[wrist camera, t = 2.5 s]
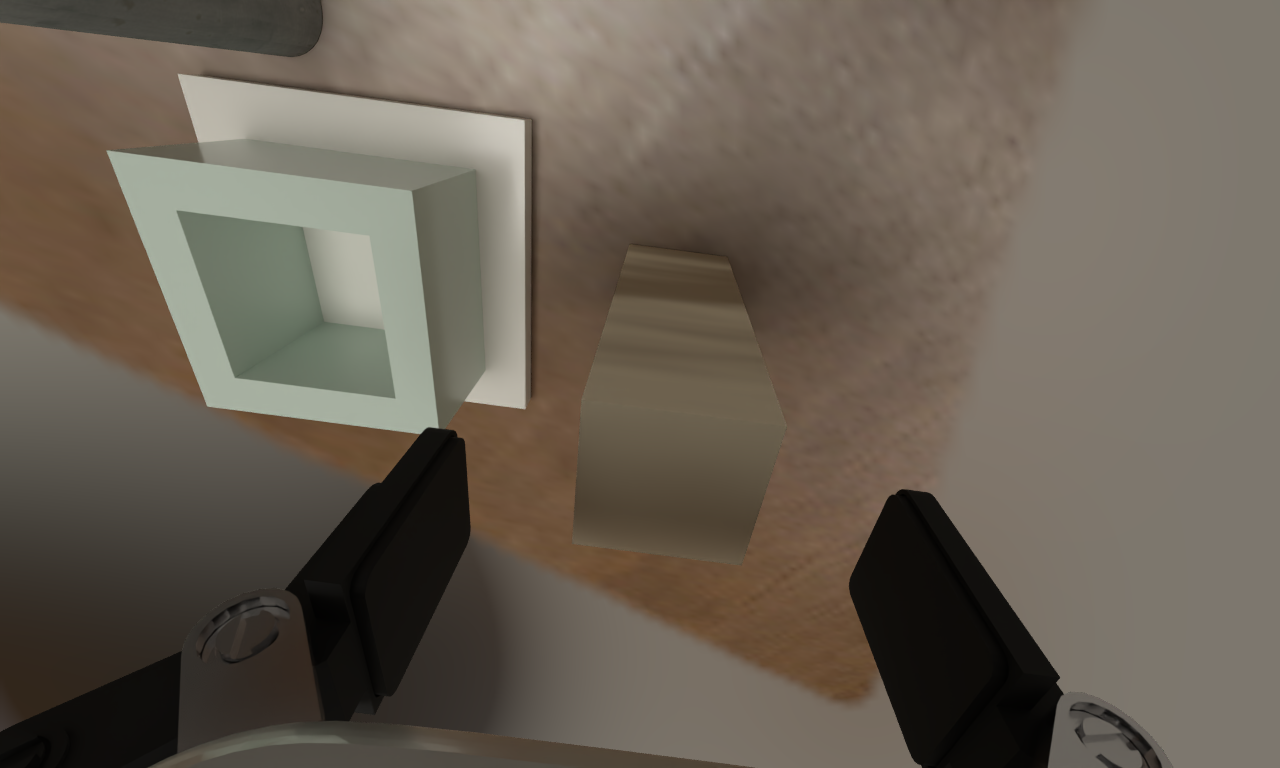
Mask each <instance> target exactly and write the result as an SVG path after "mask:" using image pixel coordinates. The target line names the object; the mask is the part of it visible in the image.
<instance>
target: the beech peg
mask: <svg viewBox="0 0 1280 768" xmlns="http://www.w3.org/2000/svg"><path fill="white" fill-rule="evenodd" d="M786 428H787V425H786V422H785V419H784V416H783V413H782V411H781V408H780V405H779V402H778V399H777V396H776V394H775V391H774V388H773V385H772V382H771V379H770V377H769V374H768V371H767V368H766V365H765V362H764V359H763V357H762V354H761V351H760V348H759V345H758V342H757V340H756V337H755V334H754V331H753V328H752V325H751V323H750V320H749V317H748V314H747V311H746V308H745V305H744V303H743V300H742V297H741V294H740V291H739V288H738V286H737V283H736V280H735V277H734V274H733V271H732V269H731V266H730V263H729V260H728V257H725V256H718V255H710V254H703V253H695V252H687V251H680V250H672V249H665V248H657V247H650V246H642V245H634V244H629V247H628V251H627V254H626V257H625V260H624V264H623V267H622V270H621V273H620V277H619V280H618V283H617V286H616V290H615V293H614V296H613V299H612V303H611V306H610V309H609V312H608V316H607V319H606V322H605V325H604V329H603V332H602V335H601V338H600V342H599V345H598V348H597V351H596V354H595V358H594V361H593V364H592V367H591V371H590V374H589V377H588V380H587V384H586V387H585V390H584V393H583V397H582V401H581V416H580V431H579V446H578V462H577V477H576V492H575V507H574V523H573V538H572V544H578V545H586V546H594V547H602V548H610V549H618V550H625V551H633V552H641V553H649V554H657V555H665V556H672V557H680V558H688V559H696V560H704V561H712V562H719V563H727V564H735V565H742V563H743V559H744V556H745V553H746V550H747V547H748V544H749V541H750V538H751V535H752V532H753V529H754V526H755V523H756V520H757V517H758V514H759V511H760V508H761V505H762V501H763V498H764V495H765V492H766V489H767V486H768V483H769V480H770V477H771V474H772V471H773V468H774V465H775V462H776V459H777V456H778V453H779V450H780V446H781V443H782V440H783V437H784V434H785V431H786Z"/></svg>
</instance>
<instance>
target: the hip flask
mask: <svg viewBox="0 0 1280 768" xmlns="http://www.w3.org/2000/svg"><path fill="white" fill-rule="evenodd" d="M0 22H1V23H10V24H18V25H27V26H35V27H43V28H52V29H60V30H69V31H77V32H85V33H94V34H102V35H110V36H119V37H127V38H136V39H144V40H152V41H161V42H169V43H178V44H186V45H194V46H203V47H211V48H220V49H228V50H236V51H245V52H253V53H261V54H270V55H278V56H287V57H294V56H300V55H302V54H305V53H307V52H308V51H309V50H310V49H312V48H313V46H314V45H315V43H316V42H317V40H318V38H319V35H320V33H321V27H322V9H321V4H320V0H0Z"/></svg>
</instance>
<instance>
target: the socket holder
mask: <svg viewBox="0 0 1280 768" xmlns="http://www.w3.org/2000/svg"><path fill="white" fill-rule="evenodd" d="M178 77H179V80H180V83H181V87H182V90H183V93H184V96H185V100H186V103H187V106H188V109H189V113H190V116H191V119H192V122H193V126H194V129H195V132H196V136H197V139H198V142H199V143H189V144H177V145H165V146H153V147H141V148H130V149H118V150H107V153H108V155H109V158H110V161H111V163H112V166H113V168H114V171H115V173H116V176H117V178H118V181H119V183H120V186H121V188H122V191H123V193H124V196H125V199H126V201H127V204H128V206H129V209H130V211H131V214H132V216H133V219H134V221H135V224H136V226H137V229H138V231H139V234H140V237H141V239H142V242H143V244H144V247H145V249H146V252H147V254H148V257H149V259H150V262H151V264H152V267H153V269H154V272H155V275H156V277H157V280H158V282H159V285H160V287H161V290H162V292H163V295H164V297H165V300H166V302H167V305H168V307H169V310H170V312H171V315H172V318H173V320H174V323H175V325H176V328H177V330H178V333H179V335H180V338H181V340H182V343H183V345H184V348H185V350H186V353H187V356H188V358H189V361H190V363H191V366H192V368H193V371H194V373H195V376H196V378H197V381H198V383H199V386H200V388H201V391H202V394H203V396H204V399H205V401H206V404H207V406H208V407H216V408H224V409H231V410H239V411H247V412H255V413H262V414H270V415H278V416H286V417H293V418H301V419H309V420H317V421H324V422H332V423H340V424H348V425H355V426H363V427H371V428H379V429H386V430H394V431H402V432H410V433H417V434H421V433H422V432H423V431H424V430H425V429H426V428H428V427H432V428H440V429H445V428H446V427H447V425H448V424H449V422H450V421H451V419H452V418H453V417H454V415H455V414H456V412H457V411H458V409H459V408H460V407H461V405H462V404H463V402H464V401H467V402H475V403H482V404H490V405H498V406H506V407H513V408H521V409H526V407H527V405H528V403H529V401H530V399H531V198H532V119H526V118H519V117H511V116H504V115H496V114H489V113H481V112H474V111H466V110H459V109H451V108H444V107H436V106H429V105H421V104H414V103H407V102H399V101H392V100H384V99H377V98H369V97H362V96H354V95H347V94H339V93H332V92H324V91H317V90H309V89H302V88H294V87H287V86H280V85H272V84H265V83H257V82H250V81H242V80H235V79H227V78H220V77H212V76H205V75H192V74H178Z"/></svg>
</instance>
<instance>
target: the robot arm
mask: <svg viewBox="0 0 1280 768" xmlns="http://www.w3.org/2000/svg"><path fill="white" fill-rule="evenodd" d="M469 536H470V512H469V497H468V482H467V467H466V452H465V441H464V439H463V438H458V437H457V433H456V431H454V430H447V429H440V428H432V427H428V428H426V429H425V430H424V431H423V432H422V433H421V435H420V436H419V437H418V438H417V440H416V441H415V442H414V443H413V444H412V446H411V447H410V448H409V449H408V451H407V452H406V453H405V454H404V456H403V457H402V458H401V459H400V461H399V462H398V463H397V464H396V466H395V467H394V468H393V469H392V471H391V472H390V473H389V474H388V476H387V477H386V478H385V479H384V481H383V482H382V483H376V484H374V485H372V486H371V487H370V488H369V489H368V490H367V491H366V492H365V493H364V495H363V496H362V497H361V498H360V499H359V501H358V502H357V503H356V504H355V506H354V507H353V508H352V509H351V510H350V512H349V513H348V514H347V515H346V516H345V518H344V519H343V520H342V521H341V522H340V524H339V525H338V526H337V527H336V529H335V530H334V531H333V532H332V533H331V535H330V536H329V537H328V538H327V539H326V541H325V542H324V543H323V544H322V546H321V547H320V548H319V549H318V550H317V552H316V553H315V554H314V555H313V556H312V558H311V559H310V560H309V561H308V563H307V564H306V565H305V566H304V567H303V568H302V570H301V571H300V572H299V573H298V575H297V576H296V577H295V578H294V580H293V581H292V582H291V583H290V584H289V585H288V587H287V588H286V589H285V590H282V589H277V588H269V589H258V590H255V591H251V592H247V593H243V594H240V595H238V596H236V597H234V598H232V599H229V600H227V601H225V602H223V603H222V604H220V605H219V606H217V607H216V608H214V609H213V610H211V611H210V612H208V613H207V614H206V615H205V616H204V617H203V618H202V619H201V620H200V621H199V622H198V623H197V624H196V625H195V626H194V627H193V629H192V630H191V632H190V633H189V635H188V636H187V638H186V639H185V642H184V646H183V650H182V651H181V652H179V653H176V654H174V655H172V656H170V657H167V658H165V659H163V660H160V661H158V662H156V663H154V664H152V665H149V666H147V667H145V668H142V669H140V670H138V671H135V672H133V673H131V674H129V675H126V676H124V677H122V678H120V679H117V680H115V681H113V682H110V683H108V684H106V685H104V686H101V687H99V688H97V689H95V690H92V691H90V692H88V693H85V694H83V695H81V696H79V697H76V698H74V699H72V700H69V701H67V702H65V703H63V704H61V705H58V706H56V707H54V708H51V709H49V710H47V711H45V712H42V713H40V714H38V715H35V716H33V717H31V718H29V719H26V720H24V721H22V722H20V723H17V724H15V725H13V726H11V727H9V728H7V729H5V730H3V731H1V732H0V768H753V767H745V766H738V765H730V764H723V763H715V762H707V761H699V760H691V759H684V758H676V757H668V756H660V755H652V754H644V753H636V752H629V751H621V750H613V749H605V748H596V747H588V746H580V745H572V744H564V743H556V742H548V741H538V740H531V739H522V738H515V737H506V736H499V735H491V734H482V733H474V732H463V731H455V730H444V729H435V728H426V727H416V726H406V725H397V724H387V723H370V722H350V719H351V717H352V715H353V713H354V712H356V713H364V714H372V715H375V713H376V711H377V709H378V707H379V705H380V703H381V701H382V699H383V697H384V696H392V695H393V694H394V693H395V691H396V690H397V688H398V686H399V684H400V682H401V679H402V678H403V676H404V674H405V672H406V669H407V667H408V665H409V663H410V661H411V659H412V657H413V655H414V653H415V651H416V648H417V647H418V645H419V643H420V641H421V639H422V636H423V634H424V632H425V630H426V628H427V626H428V624H429V622H430V620H431V618H432V616H433V614H434V612H435V609H436V607H437V605H438V603H439V601H440V599H441V597H442V595H443V593H444V591H445V589H446V587H447V585H448V583H449V581H450V579H451V577H452V574H453V572H454V570H455V568H456V566H457V564H458V562H459V560H460V558H461V556H462V554H463V552H464V550H465V548H466V546H467V543H468V540H469ZM849 590H850V595H851V598H852V600H853V603H854V606H855V608H856V611H857V614H858V616H859V619H860V622H861V624H862V627H863V630H864V632H865V635H866V638H867V640H868V643H869V646H870V648H871V651H872V654H873V656H874V659H875V662H876V664H877V667H878V670H879V672H880V675H881V678H882V680H883V683H884V686H885V688H886V691H887V694H888V696H889V699H890V702H891V704H892V707H893V709H894V712H895V715H896V717H897V720H898V723H899V725H900V728H901V731H902V734H903V736H904V739H905V742H906V744H907V747H908V750H909V752H910V754H911V756H912V758H913V760H914V761H915V762H916V763H917V764H919V765H921V766H922V768H1173V766H1172V764H1171V762H1170V761H1169V759H1168V757H1167V756H1166V754H1165V753H1164V750H1163V749H1162V748H1161V747H1160V746H1159V745H1158V744H1157V742H1156V741H1155V740H1154V739H1153V737H1152V736H1151V735H1150V734H1149V733H1148V732H1147V731H1146V730H1145V729H1143V728H1142V727H1141V726H1140V725H1139V724H1138V723H1137V722H1136V721H1135V720H1134V719H1132V718H1131V717H1130V716H1128V715H1127V714H1125V713H1124V712H1122V711H1121V710H1120V709H1118V708H1117V707H1115V706H1113V705H1112V704H1110V703H1108V702H1106V701H1104V700H1102V699H1100V698H1098V697H1095V696H1092V695H1088V694H1085V693H1079V692H1069V693H1067V694H1063V692H1062V691H1061V690H1060V688H1059V686H1058V685H1057V684H1056V682H1057V681H1058V680H1059V679H1060V677H1059V675H1058V674H1057V672H1056V671H1055V670H1054V668H1053V667H1052V665H1051V664H1050V662H1049V661H1048V659H1047V658H1046V657H1045V655H1044V654H1043V652H1042V651H1041V649H1040V648H1039V646H1038V645H1037V644H1036V642H1035V641H1034V639H1033V638H1032V636H1031V635H1030V634H1029V632H1028V631H1027V629H1026V628H1025V626H1024V625H1023V623H1022V622H1021V621H1020V619H1019V618H1018V616H1017V615H1016V613H1015V612H1014V611H1013V609H1012V608H1011V606H1010V605H1009V603H1008V602H1007V601H1006V599H1005V598H1004V596H1003V595H1002V593H1001V592H1000V591H999V589H998V588H997V586H996V585H995V583H994V582H993V580H992V579H991V578H990V576H989V575H988V573H987V572H986V570H985V569H984V567H983V566H982V565H981V563H980V562H979V560H978V559H977V557H976V556H975V555H974V553H973V552H972V550H971V549H970V547H969V546H968V545H967V543H966V542H965V540H964V539H963V537H962V536H961V535H960V533H959V532H958V530H957V529H956V527H955V526H954V525H953V523H952V522H951V520H950V519H949V517H948V516H947V514H946V513H945V511H944V510H943V509H942V507H941V506H940V504H939V503H938V501H937V500H936V499H935V497H934V496H933V495H932V494H930V493H928V492H920V491H913V490H905V489H902V490H899V491H898V492H897V493H896V495H891V496H889V498H888V499H887V501H886V503H885V505H884V507H883V509H882V512H881V514H880V516H879V518H878V520H877V522H876V524H875V526H874V528H873V531H872V533H871V535H870V537H869V539H868V541H867V543H866V545H865V548H864V550H863V552H862V554H861V556H860V558H859V560H858V562H857V564H856V567H855V569H854V571H853V573H852V575H851V577H850V582H849Z"/></svg>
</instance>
